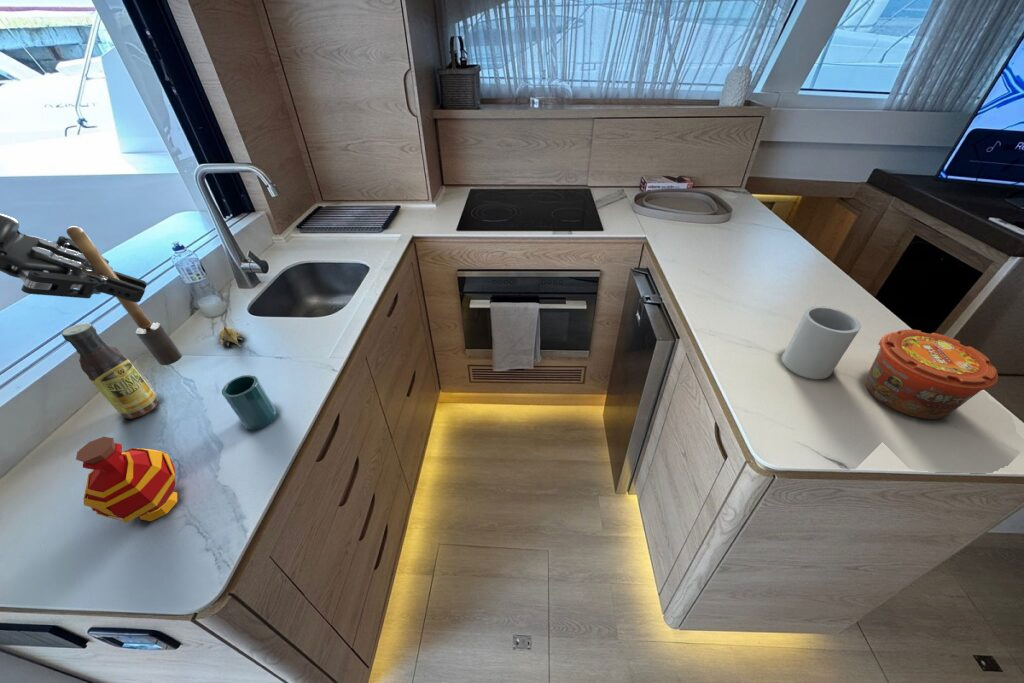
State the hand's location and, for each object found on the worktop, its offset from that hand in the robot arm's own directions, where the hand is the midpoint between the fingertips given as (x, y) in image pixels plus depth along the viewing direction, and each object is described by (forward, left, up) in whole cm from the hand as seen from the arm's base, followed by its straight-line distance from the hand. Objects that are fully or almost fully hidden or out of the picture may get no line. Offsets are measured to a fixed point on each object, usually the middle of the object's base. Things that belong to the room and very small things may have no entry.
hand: (142, 292), depth 55 cm
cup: (-44, -107, -31) cm, 120 cm away
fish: (+33, +1, -31) cm, 45 cm away
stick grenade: (0, +2, -11) cm, 12 cm away
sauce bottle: (+18, +18, -31) cm, 40 cm away
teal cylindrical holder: (+2, -3, -31) cm, 31 cm away
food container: (-59, -114, -31) cm, 132 cm away
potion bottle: (-9, +12, -31) cm, 35 cm away
